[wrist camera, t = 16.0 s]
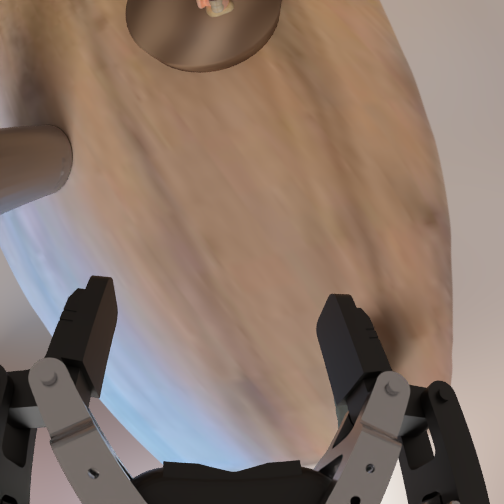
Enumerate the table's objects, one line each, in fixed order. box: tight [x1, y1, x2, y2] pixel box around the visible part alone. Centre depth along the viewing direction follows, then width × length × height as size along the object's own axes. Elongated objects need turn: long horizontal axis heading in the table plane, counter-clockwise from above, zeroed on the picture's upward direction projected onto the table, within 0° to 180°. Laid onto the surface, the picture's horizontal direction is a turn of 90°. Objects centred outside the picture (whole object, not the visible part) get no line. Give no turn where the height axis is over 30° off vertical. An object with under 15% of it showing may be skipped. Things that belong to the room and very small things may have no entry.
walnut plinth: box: [126, 0, 282, 72], centre depth 24 cm, size 16×16×4 cm
